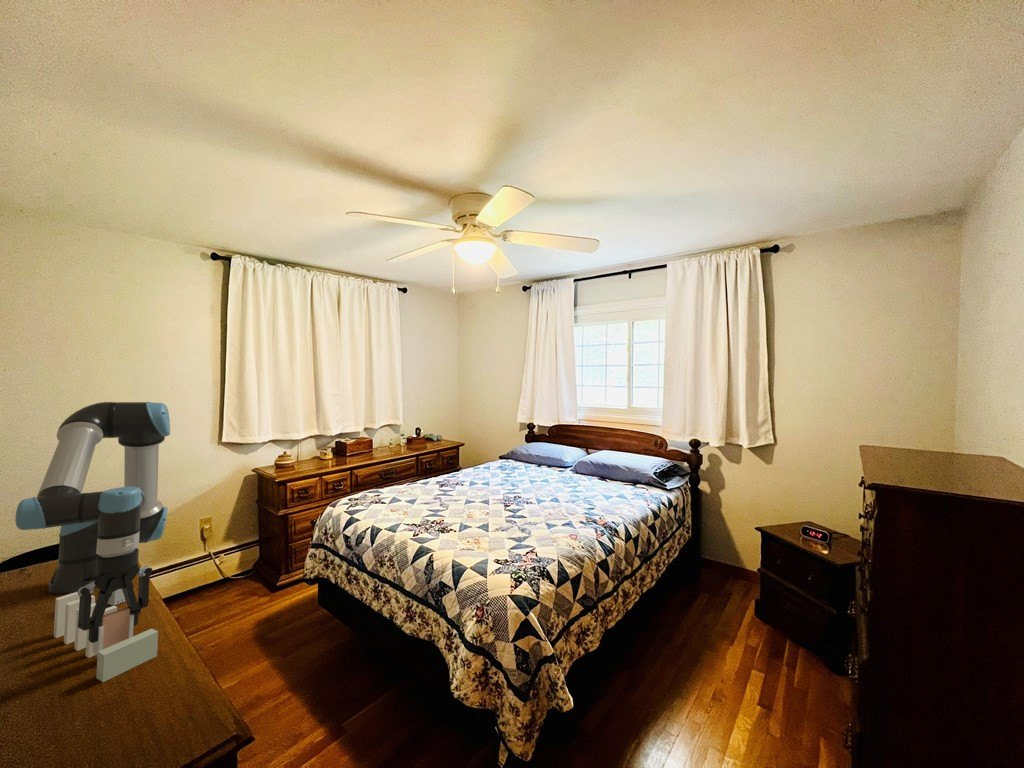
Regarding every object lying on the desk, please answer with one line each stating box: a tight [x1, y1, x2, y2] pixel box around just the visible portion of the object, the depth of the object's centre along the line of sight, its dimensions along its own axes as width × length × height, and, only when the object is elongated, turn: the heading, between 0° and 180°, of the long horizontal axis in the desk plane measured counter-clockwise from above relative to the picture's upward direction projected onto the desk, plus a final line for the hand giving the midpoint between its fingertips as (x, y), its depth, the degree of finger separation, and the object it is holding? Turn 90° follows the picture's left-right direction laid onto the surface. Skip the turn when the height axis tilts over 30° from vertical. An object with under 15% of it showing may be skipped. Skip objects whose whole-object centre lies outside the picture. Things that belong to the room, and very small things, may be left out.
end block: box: [95, 628, 159, 683], centre depth 94 cm, size 3×10×6 cm, turn 156°
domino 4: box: [85, 605, 118, 659], centre depth 100 cm, size 2×5×10 cm, turn 156°
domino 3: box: [73, 602, 96, 652], centre depth 102 cm, size 2×5×10 cm, turn 156°
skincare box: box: [107, 589, 126, 606], centre depth 123 cm, size 6×4×12 cm
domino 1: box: [53, 592, 80, 639], centre depth 107 cm, size 2×5×10 cm, turn 156°
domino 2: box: [63, 594, 96, 645], centre depth 105 cm, size 2×5×10 cm, turn 156°
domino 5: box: [100, 606, 130, 649], centre depth 97 cm, size 2×5×10 cm, turn 156°
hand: (113, 646), depth 97 cm, fingers closed on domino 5, 5 cm apart
